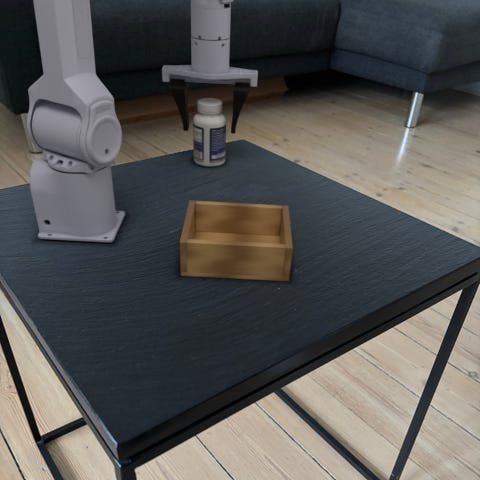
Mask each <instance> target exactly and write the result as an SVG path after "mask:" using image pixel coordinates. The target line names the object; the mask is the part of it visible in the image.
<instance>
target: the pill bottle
mask: <svg viewBox="0 0 480 480" xmlns="http://www.w3.org/2000/svg"><path fill="white" fill-rule="evenodd" d="M196 105H197V106H196V108H197V110H196V111H197V112H198V113H196V114H195V115H194V116H193V118H192V137H193V138H192V141H193V142H192V143H193V145H192V147H193V149H192V151H193V152H192V153H193V162H194V163H195V164H196V165H198V166H201V167H211V168H212V167H219V166H222V165H223V164H225V162H226V149H227V147H226V145H227V118H226V117H225V115H223V113H222V112H223V101H222V99H221V100H220V99H219V98H214V97H205V98H199V99H197V101H196Z"/></svg>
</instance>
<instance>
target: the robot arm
mask: <svg viewBox="0 0 480 480" xmlns="http://www.w3.org/2000/svg"><path fill="white" fill-rule="evenodd" d="M232 2H234V0H190V43H191V44H190V48H191V50H190V51H191V53H190V54H191V55H190V56H191V58H190V59H191V64H179V65H175V64H174V65H171V64H170V65H169V64H164V65H163V66H162V68H161V76H162V77H161V78H162V82H163V83H169V86H168V89H169V91H170V94H171V96H172V98H173V100H174V102H175V105H176V107H177V109H178V112H179V115H180V119H181V123H182V129H183V131H184V132H188V131H189V128H190V113H189V112H190V111H189V83H204V84H218V85H219V84H220V85H233V88H232V89H233V91H232V92H233V93H232V117H231V125H230V134H236V132H237V131H236V130H237V125H238V121H239V118H240V115H241V112H242V109H243V107H244V105H245V102H246V101H247V99H248V97H249V95H250V92H251V91H250V89H251V87H253V88H254V87H256V88H257V87H258V77H259V75H258V74H259V71H258V70H257V69H248V68H247V69H246V68H240V67H234V66H233V67H232V66H230V51H231V50H230V48H231V47H230V46H231V18H232V17H231V15H232V13H231V12H232ZM33 9H34V16H35V21H36V22H35V23H36V30H37V37H38V43H39V50H40V51H39V52H40V58H41V66H42V73H43V74H42V75H41V76H40V77H39V78H38V79H37V80H36V81H35V82H34V83H33V84H31V85H30V86H29V88H28V89H27V92H28V101H29V107H28V113H27V117H26V130H27V133H28V137H29V139H30V141H31V142H32V144H33V145H34V146H35V147H36V148H37V149H39V150H41V151H42V157H43V158H36V159H34V161H33V162H32V164H31V165H30V166H31V167H30V171H29V188H30V194H31V195H30V196H31V200H32V204H33V209H34V213H35V218H36V222H37V226H38V231H39V232H38V234H37V238H38V239H39V240H53V241H54V240H55V241H71V242H73V241H74V242H88V243H89V242H91V243H113V242H114V241H115V239H116V237H117V235H118V232H119V230H120V227H121V226H122V223H123V220H124V218H125V217H126V212H125V211H124V210H116V202H115V192H114V184H113V174H112V164H114V163H116V161H115V160H116V158H117V157H118V155H119V153H120V152H121V151H120V150H121V148H122V142H123V131H122V126H121V122H120V121H119V118H118V117H117V114H116V108H115V98H114V96H113V95H112V93H111V92H110V91H109V90H108V88H107V87H106V85H104V83H103V82H102V81H101V79H100V78H99V77H98V75H97V71H96V59H95V58H96V57H95V47H94V38H93V37H94V36H93V25H92V14H91V13H92V12H91V1H90V0H33Z"/></svg>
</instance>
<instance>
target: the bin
mask: <svg viewBox="0 0 480 480" xmlns="http://www.w3.org/2000/svg"><path fill="white" fill-rule="evenodd" d="M289 207H290V206H289V205H283V204H281V205H280V204H264V203H263V204H262V203H246V202H245V203H244V202H243V203H242V202H228V201H227V202H226V201H225V202H224V201H206V200H194V199H193V200H192V199H189V200H188V204H187V209H186V213H185V218H184V222H183V227H182V231H181V233H180V234H181V235H180V238H179V262H180V264H179V265H180V276H181V277H196V278H215V279H216V278H217V279H236V280H237V279H238V280H255V281H273V282H290V275H291V266H292V260H293V250H294V245H293V236H292V228H291V227H292V226H291V217H290V209H289Z"/></svg>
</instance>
